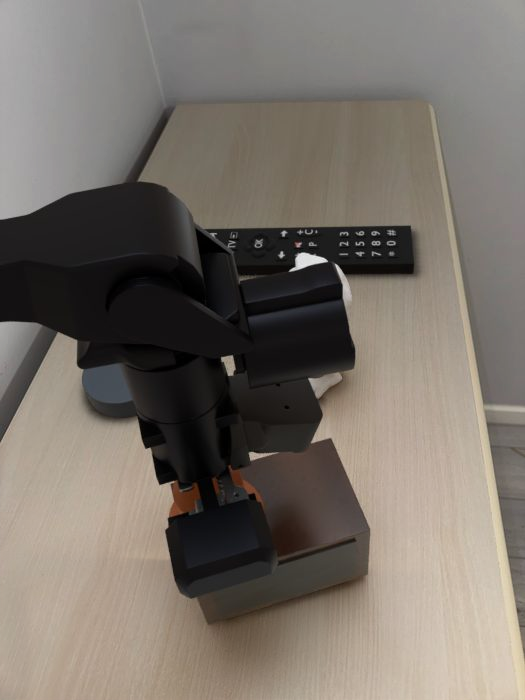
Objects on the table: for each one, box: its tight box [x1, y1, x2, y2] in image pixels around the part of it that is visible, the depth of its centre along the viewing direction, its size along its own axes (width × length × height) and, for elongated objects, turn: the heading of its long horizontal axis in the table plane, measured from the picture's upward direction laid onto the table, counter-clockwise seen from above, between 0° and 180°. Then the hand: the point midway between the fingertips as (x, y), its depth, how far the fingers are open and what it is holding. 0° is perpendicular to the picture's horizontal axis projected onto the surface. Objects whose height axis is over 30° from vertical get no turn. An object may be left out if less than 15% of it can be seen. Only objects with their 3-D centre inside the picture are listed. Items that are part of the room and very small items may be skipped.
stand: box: [81, 364, 137, 419], centre depth 74 cm, size 9×9×2 cm
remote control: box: [203, 224, 415, 276], centre depth 87 cm, size 8×32×2 cm, turn 85°
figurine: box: [289, 253, 353, 400], centre depth 69 cm, size 11×7×15 cm, turn 0°
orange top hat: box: [167, 465, 265, 528], centre depth 51 cm, size 8×8×5 cm
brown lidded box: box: [170, 437, 371, 626], centre depth 57 cm, size 14×9×9 cm, turn 105°
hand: (215, 514), depth 52 cm, fingers closed on orange top hat, 5 cm apart
